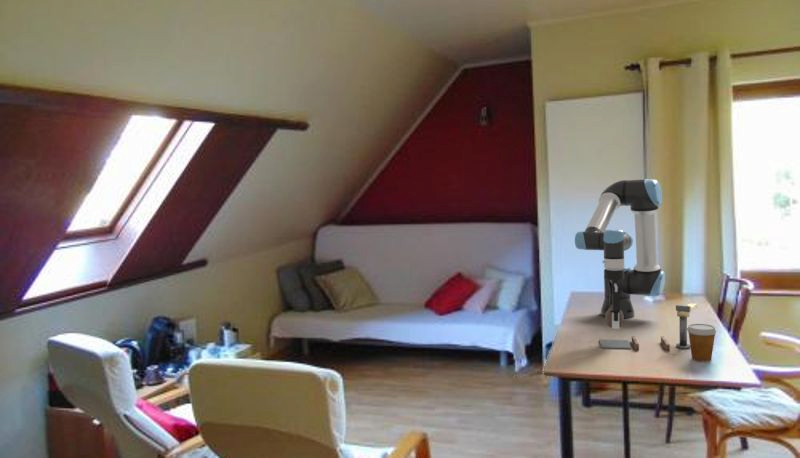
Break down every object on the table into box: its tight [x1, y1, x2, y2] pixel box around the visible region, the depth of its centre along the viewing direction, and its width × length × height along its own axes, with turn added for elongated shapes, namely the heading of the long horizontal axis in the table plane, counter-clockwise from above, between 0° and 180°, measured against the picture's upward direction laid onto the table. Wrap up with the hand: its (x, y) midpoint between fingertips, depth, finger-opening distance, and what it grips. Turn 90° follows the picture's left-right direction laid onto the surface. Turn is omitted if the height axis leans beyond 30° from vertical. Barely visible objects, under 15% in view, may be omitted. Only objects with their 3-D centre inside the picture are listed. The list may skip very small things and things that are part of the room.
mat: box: [598, 339, 632, 350], centre depth 243 cm, size 11×11×1 cm
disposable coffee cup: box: [687, 323, 717, 362], centre depth 220 cm, size 10×10×12 cm
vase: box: [604, 305, 625, 329], centre depth 241 cm, size 7×7×9 cm
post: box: [675, 317, 691, 350], centre depth 235 cm, size 5×5×12 cm
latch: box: [675, 302, 697, 318], centre depth 240 cm, size 5×18×4 cm, turn 141°
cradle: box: [631, 335, 671, 352], centre depth 239 cm, size 12×12×2 cm
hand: (614, 326), depth 242 cm, fingers closed on vase, 7 cm apart
